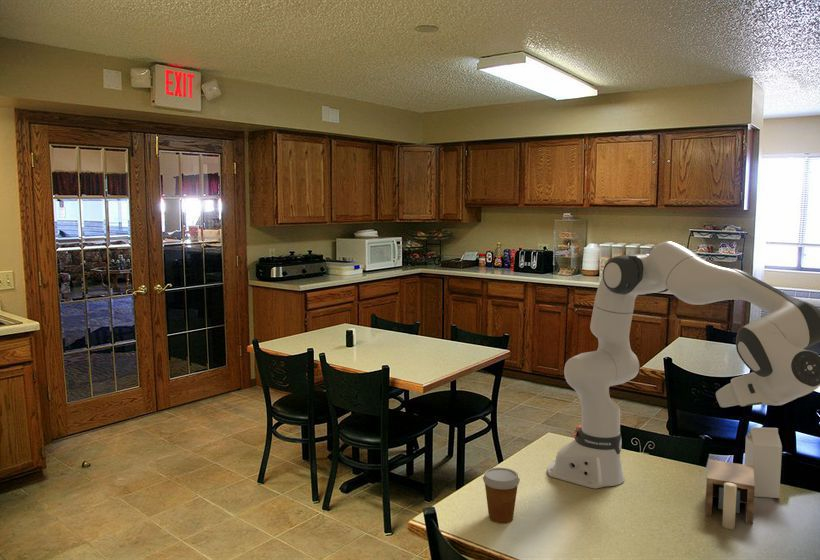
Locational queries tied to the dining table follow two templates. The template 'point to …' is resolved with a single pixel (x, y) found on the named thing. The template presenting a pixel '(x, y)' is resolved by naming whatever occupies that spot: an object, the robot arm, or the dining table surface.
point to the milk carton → (764, 460)
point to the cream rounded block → (729, 503)
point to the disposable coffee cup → (501, 493)
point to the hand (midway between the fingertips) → (750, 396)
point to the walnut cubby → (730, 474)
